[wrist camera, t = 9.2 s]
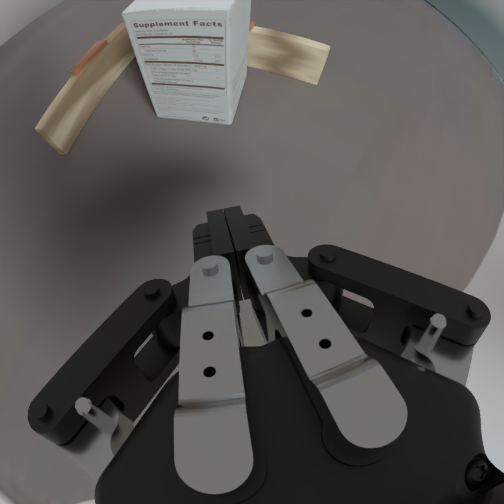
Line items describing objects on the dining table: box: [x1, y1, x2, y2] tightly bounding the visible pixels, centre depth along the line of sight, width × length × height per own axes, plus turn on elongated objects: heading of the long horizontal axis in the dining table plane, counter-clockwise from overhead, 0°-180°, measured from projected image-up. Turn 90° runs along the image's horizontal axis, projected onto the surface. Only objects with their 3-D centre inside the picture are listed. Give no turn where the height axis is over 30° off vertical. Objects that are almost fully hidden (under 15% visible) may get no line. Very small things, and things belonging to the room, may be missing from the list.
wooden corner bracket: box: [35, 21, 330, 155], centre depth 21 cm, size 23×17×6 cm
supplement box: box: [122, 0, 251, 125], centre depth 17 cm, size 7×7×13 cm
